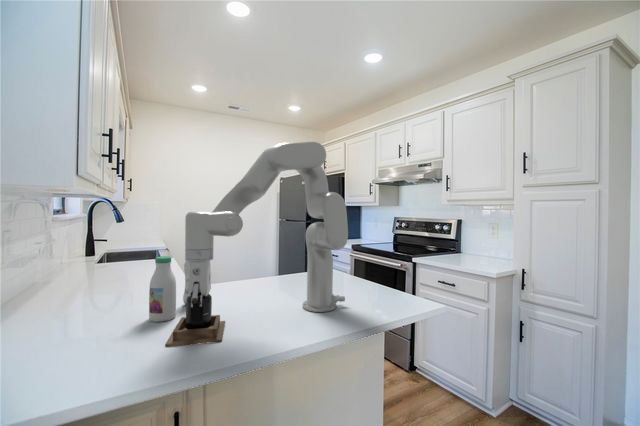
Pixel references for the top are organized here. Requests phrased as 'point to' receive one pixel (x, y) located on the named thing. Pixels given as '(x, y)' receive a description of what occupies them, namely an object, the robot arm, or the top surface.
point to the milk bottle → (162, 291)
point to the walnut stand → (196, 333)
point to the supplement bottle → (206, 313)
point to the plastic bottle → (186, 281)
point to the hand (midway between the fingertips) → (199, 315)
